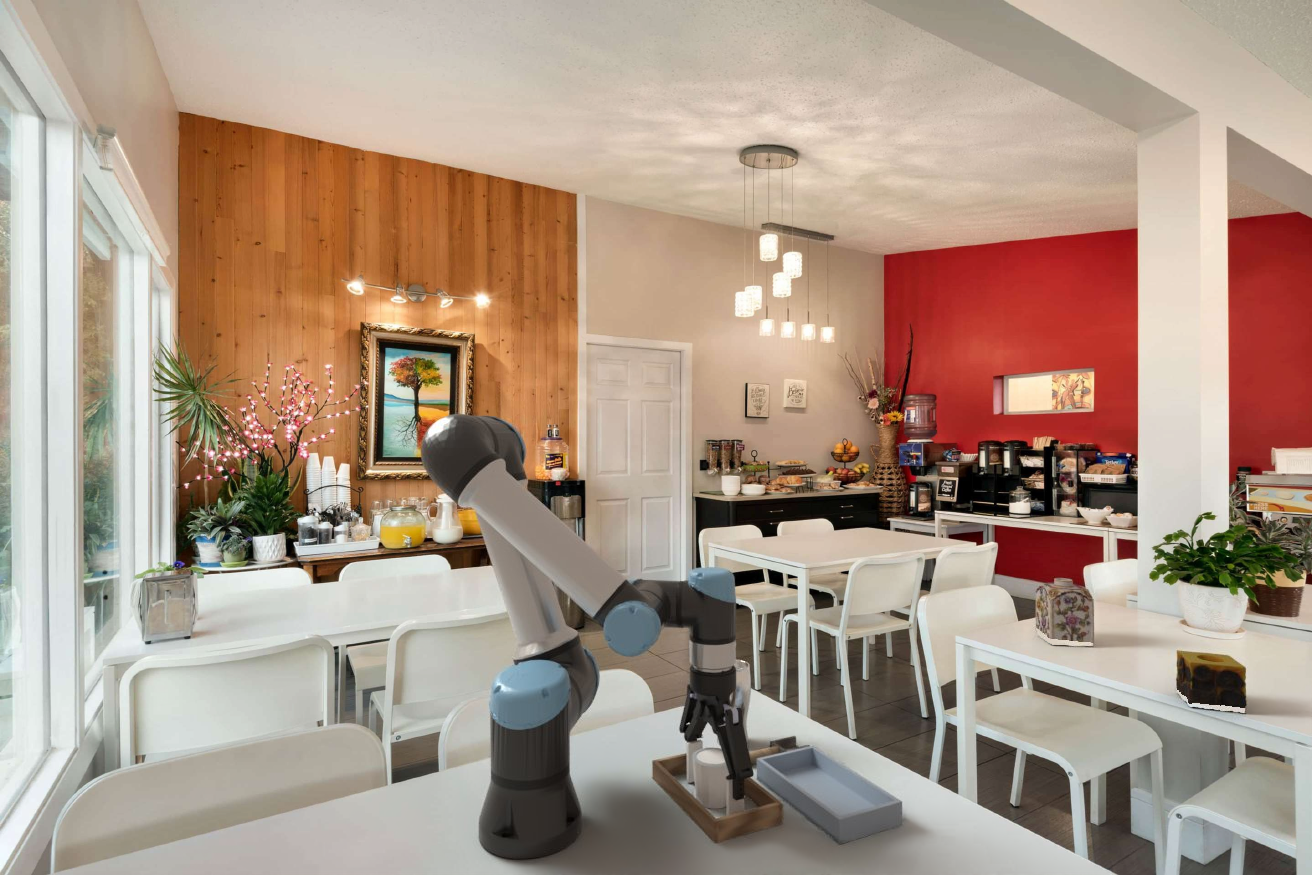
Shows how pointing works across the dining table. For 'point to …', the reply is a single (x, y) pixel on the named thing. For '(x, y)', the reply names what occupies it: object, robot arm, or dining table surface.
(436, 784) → the dining table surface
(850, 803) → the bin
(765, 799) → the walnut frame
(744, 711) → the silver metal tumbler
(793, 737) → the hand scoop
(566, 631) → the robot arm
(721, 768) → the white faceted cup
